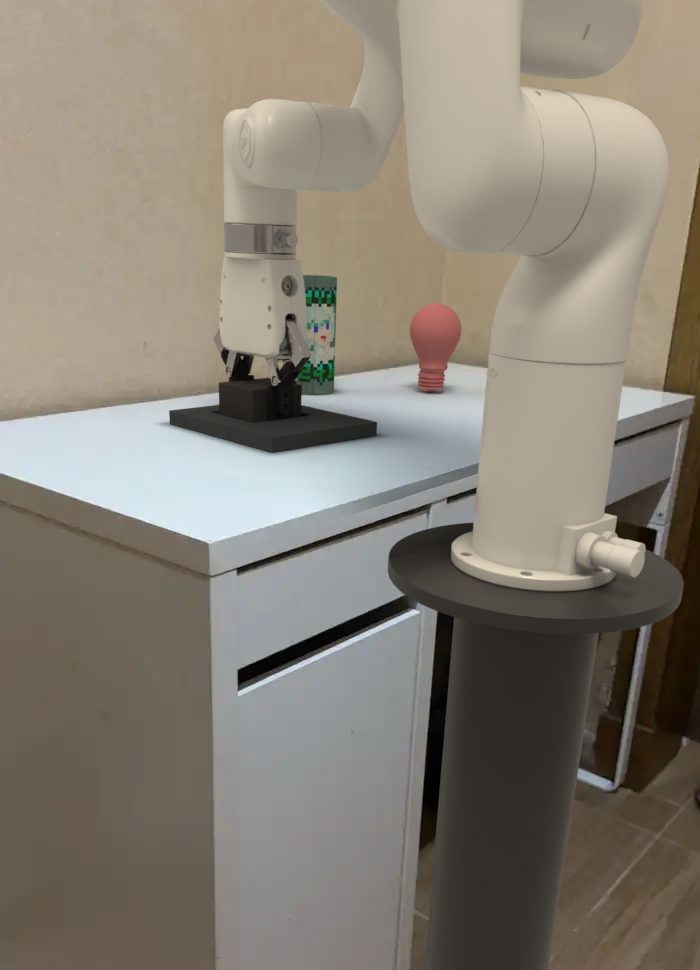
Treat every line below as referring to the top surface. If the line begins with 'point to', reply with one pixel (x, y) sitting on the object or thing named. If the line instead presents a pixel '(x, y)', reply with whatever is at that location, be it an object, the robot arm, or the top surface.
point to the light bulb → (434, 342)
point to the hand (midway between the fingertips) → (260, 414)
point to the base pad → (276, 428)
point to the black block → (251, 399)
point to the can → (320, 334)
